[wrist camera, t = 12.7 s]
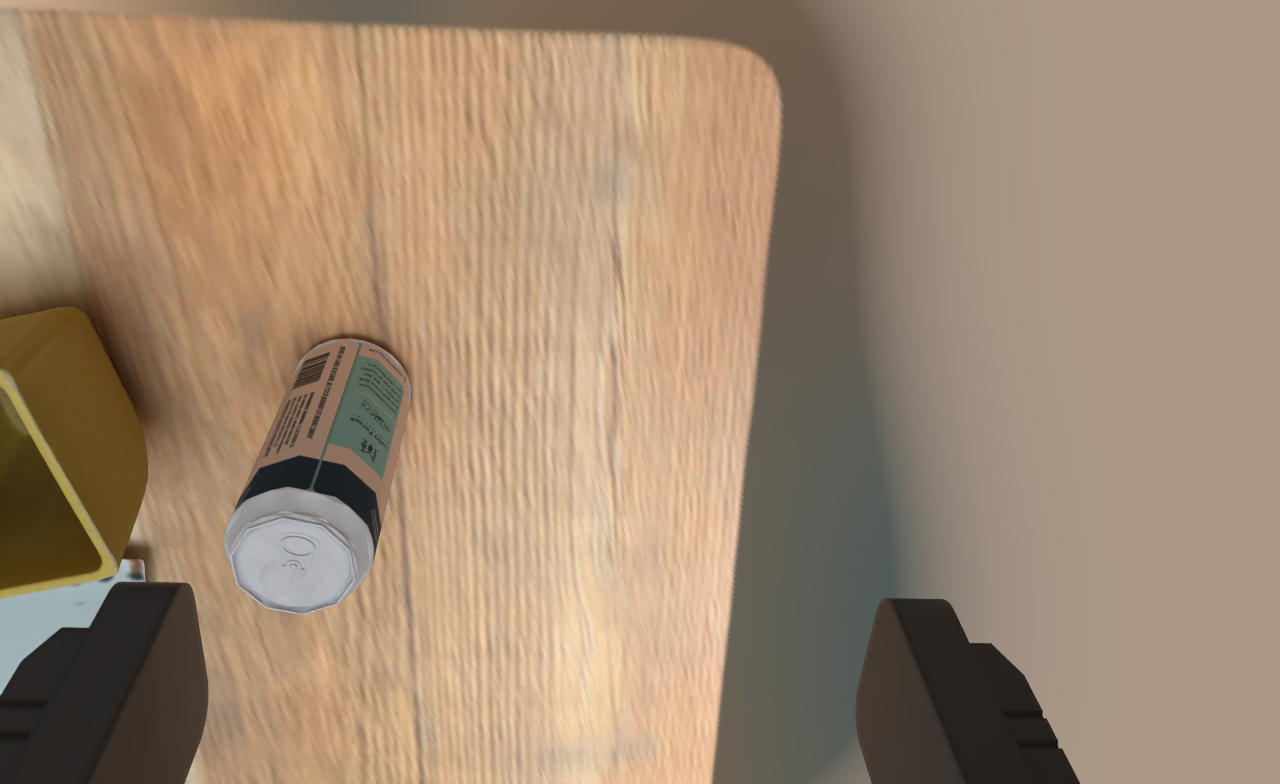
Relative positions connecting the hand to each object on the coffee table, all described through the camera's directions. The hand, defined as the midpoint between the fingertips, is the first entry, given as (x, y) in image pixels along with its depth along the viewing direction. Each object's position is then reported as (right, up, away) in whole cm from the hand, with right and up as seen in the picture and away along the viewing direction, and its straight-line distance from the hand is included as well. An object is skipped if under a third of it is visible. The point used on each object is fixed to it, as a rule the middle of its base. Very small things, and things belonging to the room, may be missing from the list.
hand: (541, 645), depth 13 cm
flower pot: (-23, +4, +31) cm, 39 cm away
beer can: (-11, +3, +32) cm, 34 cm away
